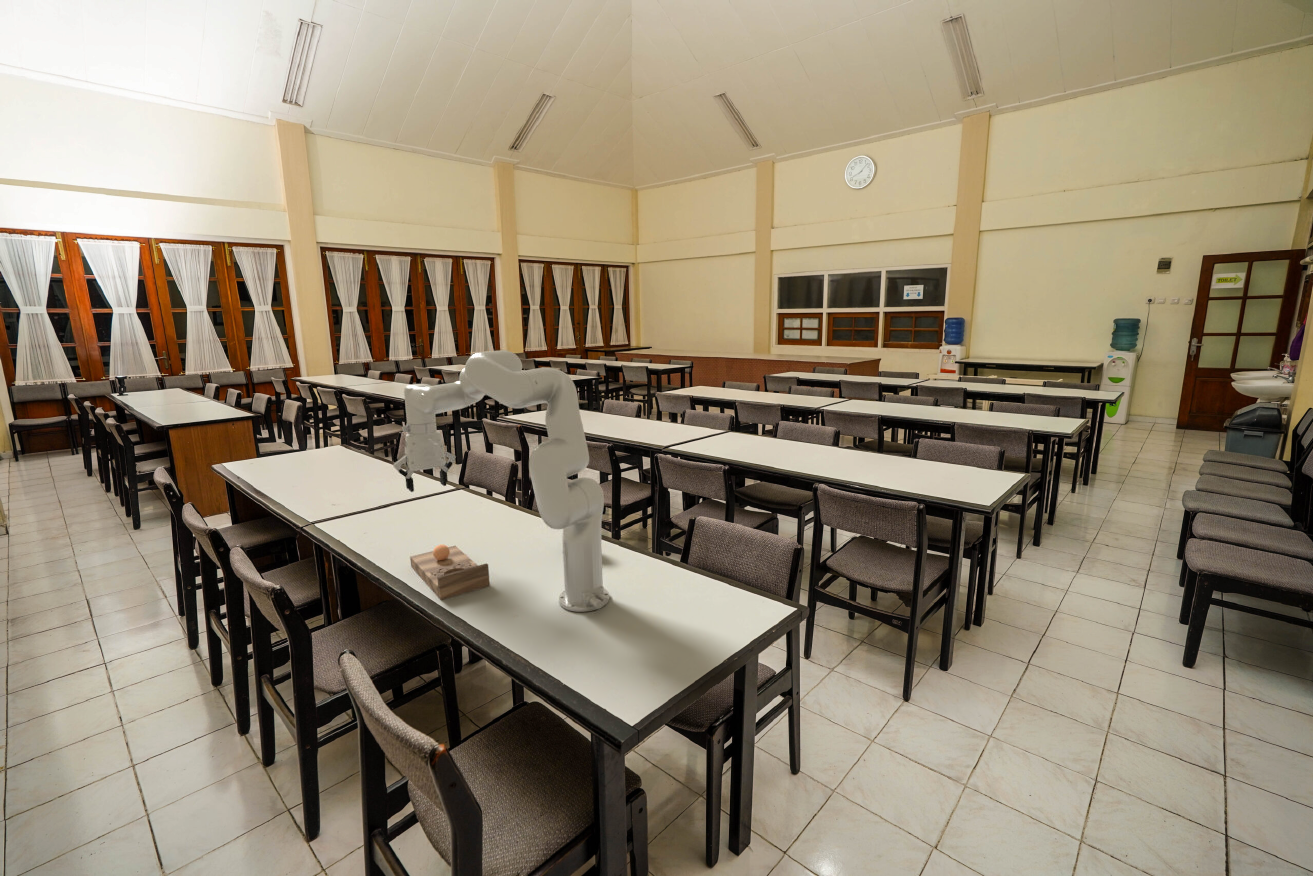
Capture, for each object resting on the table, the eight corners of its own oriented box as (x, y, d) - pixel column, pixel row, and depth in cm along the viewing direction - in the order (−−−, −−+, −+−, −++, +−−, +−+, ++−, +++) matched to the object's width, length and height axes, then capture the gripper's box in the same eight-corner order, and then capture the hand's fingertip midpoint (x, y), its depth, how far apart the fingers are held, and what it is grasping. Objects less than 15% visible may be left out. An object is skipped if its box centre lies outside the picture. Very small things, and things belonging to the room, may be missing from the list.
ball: (452, 560, 168) (451, 545, 167) (436, 564, 165) (435, 549, 164) (447, 555, 171) (446, 540, 170) (431, 559, 169) (430, 544, 168)
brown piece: (489, 585, 159) (488, 564, 158) (440, 600, 151) (438, 578, 150) (456, 555, 179) (454, 536, 178) (411, 566, 171) (409, 546, 170)
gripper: (392, 434, 159) (399, 496, 163) (457, 426, 169) (462, 485, 173) (385, 430, 165) (392, 490, 168) (448, 422, 175) (453, 479, 179)
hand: (427, 487), depth 171 cm, fingers open, 8 cm apart
